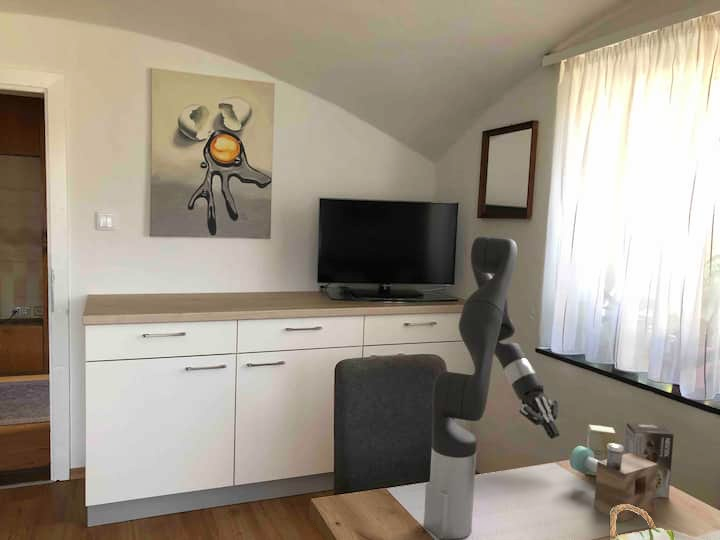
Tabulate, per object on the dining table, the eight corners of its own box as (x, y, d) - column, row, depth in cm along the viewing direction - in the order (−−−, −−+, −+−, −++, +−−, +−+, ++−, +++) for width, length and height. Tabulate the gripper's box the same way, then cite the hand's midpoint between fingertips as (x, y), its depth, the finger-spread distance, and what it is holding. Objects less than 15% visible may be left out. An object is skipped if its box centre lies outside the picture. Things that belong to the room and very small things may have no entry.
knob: (616, 494, 132) (619, 469, 132) (568, 471, 144) (570, 447, 143) (633, 489, 135) (635, 464, 135) (585, 466, 147) (586, 444, 146)
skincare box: (586, 474, 152) (589, 429, 151) (583, 468, 156) (587, 423, 155) (612, 478, 150) (616, 432, 149) (609, 471, 154) (613, 426, 153)
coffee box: (658, 486, 147) (664, 424, 145) (669, 498, 140) (675, 434, 139) (621, 483, 147) (626, 421, 146) (630, 495, 141) (635, 431, 140)
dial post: (615, 471, 128) (617, 450, 128) (602, 465, 131) (603, 444, 131) (625, 468, 130) (627, 447, 130) (612, 462, 133) (613, 442, 133)
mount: (620, 521, 128) (624, 473, 127) (593, 507, 134) (597, 461, 133) (653, 509, 134) (658, 464, 133) (626, 496, 140) (630, 452, 139)
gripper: (513, 374, 155) (546, 435, 145) (548, 369, 161) (581, 427, 152) (498, 388, 160) (529, 447, 150) (532, 383, 166) (563, 439, 157)
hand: (555, 437), depth 151 cm, fingers closed
